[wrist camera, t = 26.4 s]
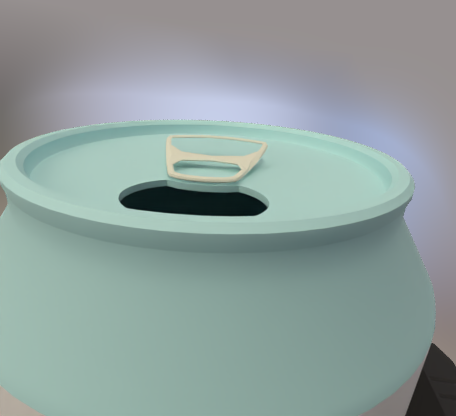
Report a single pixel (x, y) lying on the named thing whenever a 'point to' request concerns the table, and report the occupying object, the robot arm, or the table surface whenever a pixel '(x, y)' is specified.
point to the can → (208, 274)
